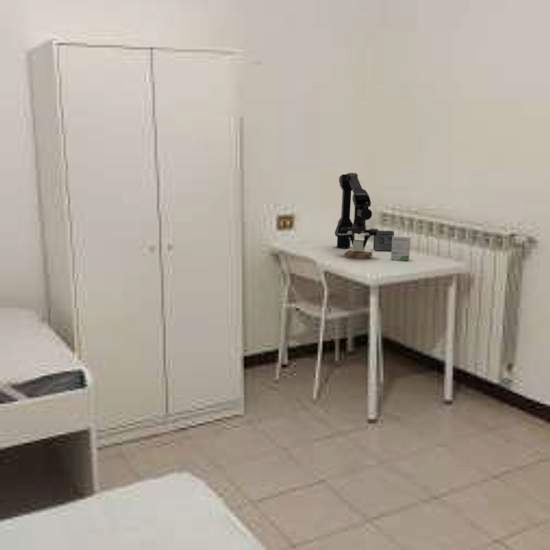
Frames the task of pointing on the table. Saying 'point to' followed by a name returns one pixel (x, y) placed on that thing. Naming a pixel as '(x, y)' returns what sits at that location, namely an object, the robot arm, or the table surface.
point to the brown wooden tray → (358, 254)
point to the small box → (383, 241)
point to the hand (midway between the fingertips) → (358, 247)
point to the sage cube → (358, 245)
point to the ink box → (400, 248)
